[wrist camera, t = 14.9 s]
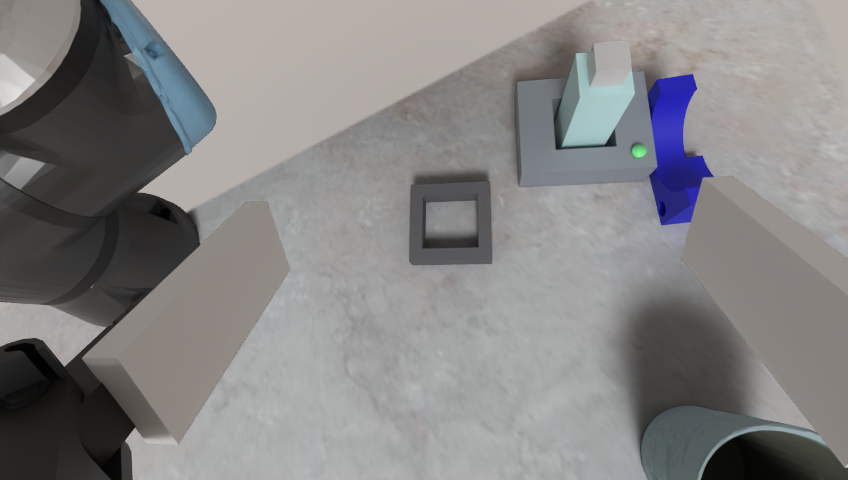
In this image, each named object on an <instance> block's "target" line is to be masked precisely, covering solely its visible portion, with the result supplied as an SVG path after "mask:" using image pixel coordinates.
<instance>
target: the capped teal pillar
mask: <svg viewBox="0 0 848 480" xmlns="http://www.w3.org/2000/svg"><path fill="white" fill-rule="evenodd" d="M634 94H635V90H634V83H633V75H632V67H631V60H630V52H629V46H628V40H624V41H613V42H603V43H593V46H592V49H591V52H587V53H577V54H576V55H575V58H574V61H573V65H572V68H571V71H570V75H569V78H568V81H567V85H566V88H565V91H564V94H563V98H562V101H561V104H560V108H559V111H558V114H557V118H556V121H555V124H554V126H555V139H556V150H563V149H580V148H598V147H604V145H605V144H606V142H607V140H608V139H609V137H610V135H611V133H612V132H613V130H614V128H615V127H616V125H617V123H618V122H619V120H620V118H621V116H622V115H623V113H624V111H625V110H626V108H627V106H628V105H629V103H630V101H631V99H632V98H633V96H634Z"/></svg>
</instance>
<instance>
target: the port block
mask: <svg viewBox="0 0 848 480" xmlns="http://www.w3.org/2000/svg"><path fill="white" fill-rule="evenodd" d="M632 75H633V83H634V90H635V94H634V96H633V98H632V99H631V101H630V103H629V105H628V106H627V108H626V110H625V111H624V113H623V115H622V116H621V118H620V120H619V122H618V123H617V125H616V127H615V128H614V130H613V132H612V133H611V135H610V137H609V139H608V140H607V142H606V144H605V147H598V148H580V149H563V150H556V148H555V135H554V121H553V117H557V114H558V111H559V108H560V104H561V101H562V98H563V94H564V91H565V88H566V85H567V81H568V78H569V77H567V78H555V79H543V80H531V81H519V82H517V87H516V96H515V113H516V134H517V154H518V175H519V187H533V186H556V185H578V184H601V183H623V182H643V181H644V180H645V179H646V178H647V177H648V176H649V175H650V174H651V173H652V172H653V171H654V170H655V169H656V168H657V160H656V153H655V146H654V138H653V131H652V124H651V117H650V110H649V102H648V95H647V88H646V81H645V74H644V71H639V72H632Z"/></svg>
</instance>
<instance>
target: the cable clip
mask: <svg viewBox="0 0 848 480" xmlns="http://www.w3.org/2000/svg"><path fill="white" fill-rule="evenodd" d="M696 90H697V87H696V83H695V80H694V76H693V74H690V75H684V76H677V77H671V78H665V79H658V80H657V81H656V82H655V84H654V85H653V87H652V88H651V90H650V91H649V93H648V102H649V110H650V117H651V124H652V131H653V138H654V146H655V153H656V160H657V168H656V169H655V170H654V171H653V172H652V173H651V174H650V175H649V176H650V180H651V184H652V188H653V192H654V197H655V201H656V205H657V209H658V213H659V217H660V221H661V225H668V224H677V223H686V222H691V219H692V216H693V212H694V208H695V205H696V201H697V197H698V194H699V190H700V186H701V182H702V179H703V178H704V177H714V176H713V175H712V174H711V172H710V171H709V169H708V168H707V166H706V164H705V161H704V158H703V156H696V157H688V158H686V157H685V152H684V146H683V125H684V118H685V114H686V110H687V107H688V104H689V102H690V99H691V97H692V96H693V94H694V92H695V91H696Z"/></svg>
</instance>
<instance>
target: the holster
mask: <svg viewBox="0 0 848 480" xmlns="http://www.w3.org/2000/svg"><path fill="white" fill-rule="evenodd" d="M472 200H478V246H479V247H472V248H429V249H425V221H426V202H447V201H472ZM409 262H410V263H411V264H412V265H449V264H492V240H491V206H490V181H482V182H461V183H440V184H419V185H411V205H410V252H409Z"/></svg>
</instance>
